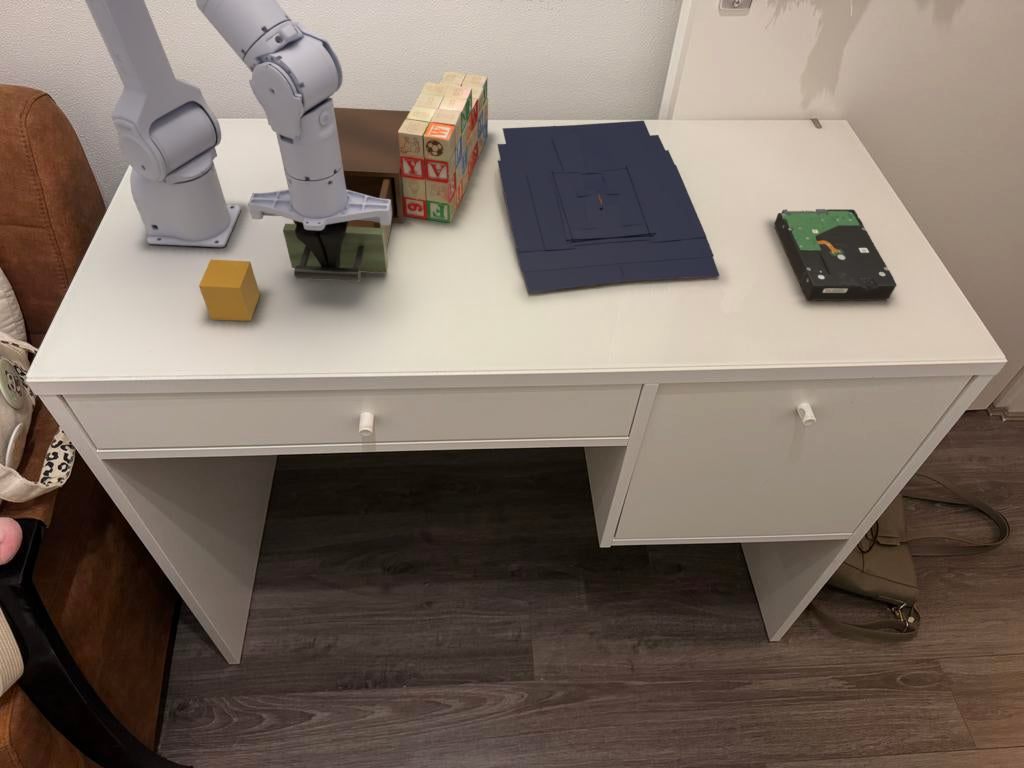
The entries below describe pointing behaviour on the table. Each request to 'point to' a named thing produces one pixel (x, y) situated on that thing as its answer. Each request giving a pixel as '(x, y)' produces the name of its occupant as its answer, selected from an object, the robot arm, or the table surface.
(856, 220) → the disk drive
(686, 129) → the table surface
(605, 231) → the navy folded towel
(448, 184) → the stack of blocks
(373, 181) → the drawer
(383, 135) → the cabinet
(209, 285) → the block
